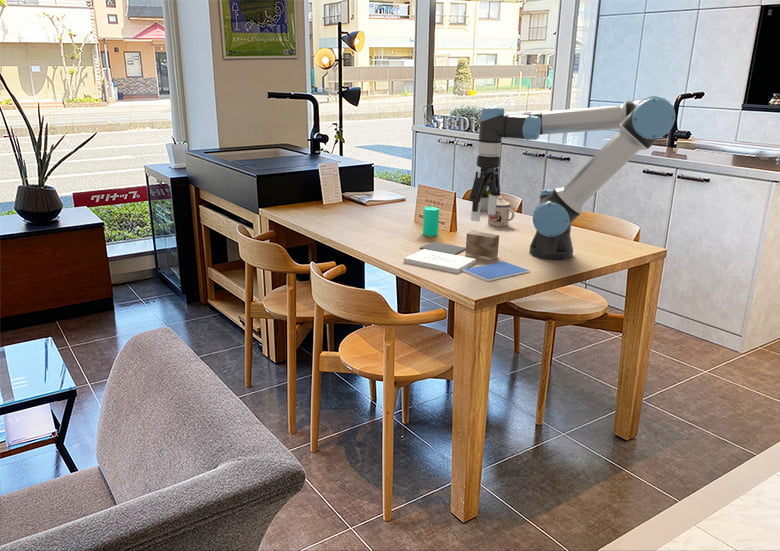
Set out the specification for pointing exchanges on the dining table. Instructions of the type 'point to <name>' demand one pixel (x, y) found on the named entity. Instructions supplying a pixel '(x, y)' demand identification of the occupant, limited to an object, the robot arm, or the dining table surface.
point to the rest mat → (443, 248)
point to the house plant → (485, 199)
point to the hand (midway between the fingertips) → (483, 217)
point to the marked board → (440, 260)
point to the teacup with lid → (501, 213)
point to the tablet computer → (495, 271)
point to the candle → (430, 221)
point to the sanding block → (482, 245)
